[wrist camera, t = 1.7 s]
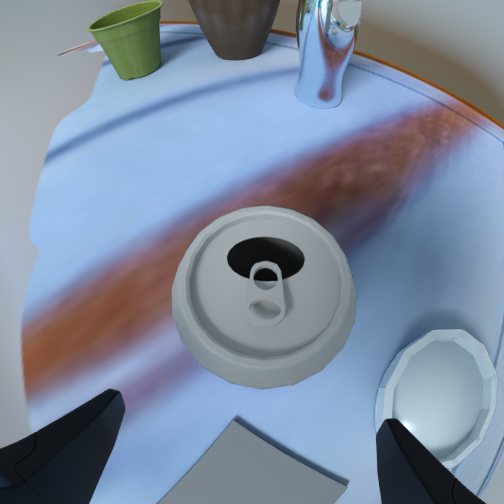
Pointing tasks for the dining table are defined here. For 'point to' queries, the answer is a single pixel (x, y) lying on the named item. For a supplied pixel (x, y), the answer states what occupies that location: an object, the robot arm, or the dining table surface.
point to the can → (264, 297)
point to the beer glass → (325, 48)
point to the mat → (251, 475)
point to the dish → (440, 393)
